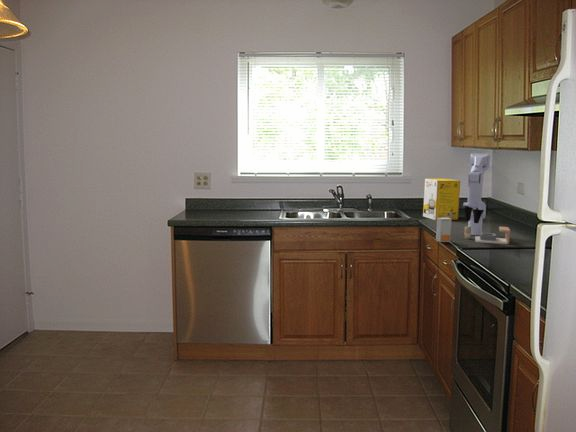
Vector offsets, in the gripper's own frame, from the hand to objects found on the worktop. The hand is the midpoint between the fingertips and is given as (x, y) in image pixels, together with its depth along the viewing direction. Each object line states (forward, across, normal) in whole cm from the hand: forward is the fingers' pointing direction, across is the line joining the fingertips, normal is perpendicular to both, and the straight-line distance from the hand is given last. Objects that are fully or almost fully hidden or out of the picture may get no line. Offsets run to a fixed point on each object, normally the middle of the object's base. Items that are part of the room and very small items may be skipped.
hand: (471, 221), depth 312 cm
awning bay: (+10, +5, +9) cm, 14 cm away
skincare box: (+10, +1, -17) cm, 19 cm away
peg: (+10, -5, +1) cm, 11 cm away
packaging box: (+10, -77, +28) cm, 83 cm away
